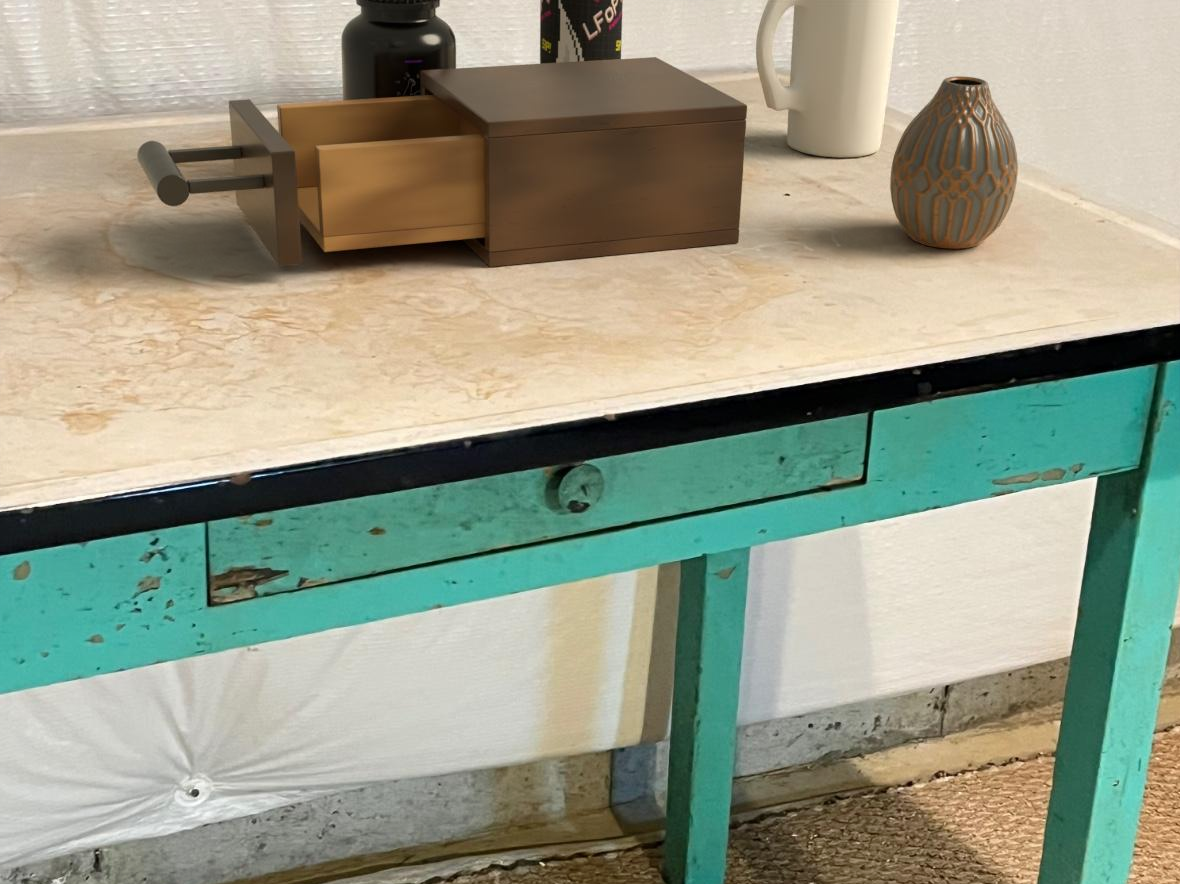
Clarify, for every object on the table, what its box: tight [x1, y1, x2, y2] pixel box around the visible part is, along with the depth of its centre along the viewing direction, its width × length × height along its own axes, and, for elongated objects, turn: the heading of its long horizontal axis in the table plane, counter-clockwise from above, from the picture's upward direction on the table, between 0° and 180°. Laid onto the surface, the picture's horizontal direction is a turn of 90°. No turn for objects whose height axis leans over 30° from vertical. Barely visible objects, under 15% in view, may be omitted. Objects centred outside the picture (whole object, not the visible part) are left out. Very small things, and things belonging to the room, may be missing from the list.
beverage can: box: [539, 0, 624, 64], centre depth 119 cm, size 6×6×12 cm
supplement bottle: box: [340, 0, 457, 100], centre depth 102 cm, size 7×7×12 cm
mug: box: [755, 0, 900, 158], centre depth 110 cm, size 10×7×12 cm, turn 118°
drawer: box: [137, 95, 485, 267], centre depth 91 cm, size 19×11×6 cm, turn 111°
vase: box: [889, 75, 1019, 250], centre depth 94 cm, size 7×7×9 cm
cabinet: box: [420, 56, 748, 268], centre depth 95 cm, size 15×13×8 cm
